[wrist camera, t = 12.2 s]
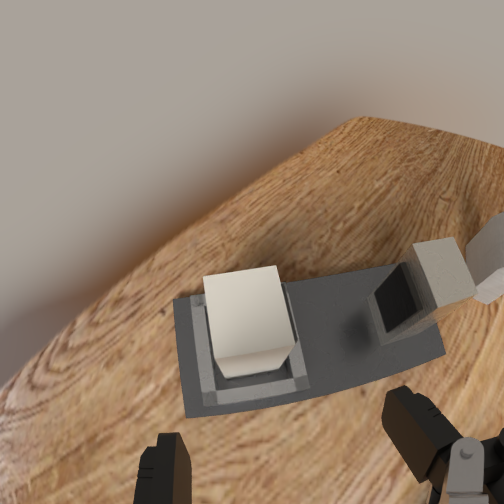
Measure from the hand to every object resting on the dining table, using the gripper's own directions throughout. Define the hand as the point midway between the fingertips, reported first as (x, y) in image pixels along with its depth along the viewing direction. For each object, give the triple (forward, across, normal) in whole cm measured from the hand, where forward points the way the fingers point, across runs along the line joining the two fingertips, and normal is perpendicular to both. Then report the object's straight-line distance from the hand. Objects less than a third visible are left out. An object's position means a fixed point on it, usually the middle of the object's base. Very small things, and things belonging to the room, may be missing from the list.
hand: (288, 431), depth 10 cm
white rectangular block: (+13, +1, +4) cm, 13 cm away
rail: (+14, -5, +5) cm, 15 cm away
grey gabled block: (+15, -26, +4) cm, 31 cm away
